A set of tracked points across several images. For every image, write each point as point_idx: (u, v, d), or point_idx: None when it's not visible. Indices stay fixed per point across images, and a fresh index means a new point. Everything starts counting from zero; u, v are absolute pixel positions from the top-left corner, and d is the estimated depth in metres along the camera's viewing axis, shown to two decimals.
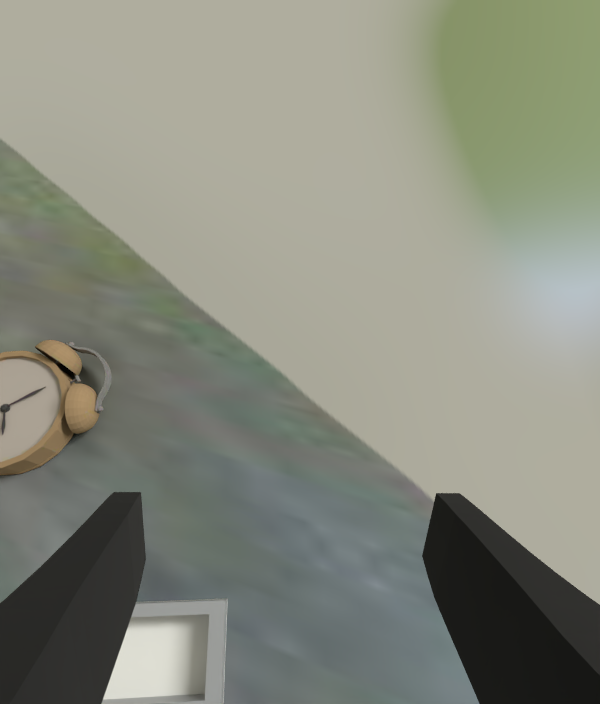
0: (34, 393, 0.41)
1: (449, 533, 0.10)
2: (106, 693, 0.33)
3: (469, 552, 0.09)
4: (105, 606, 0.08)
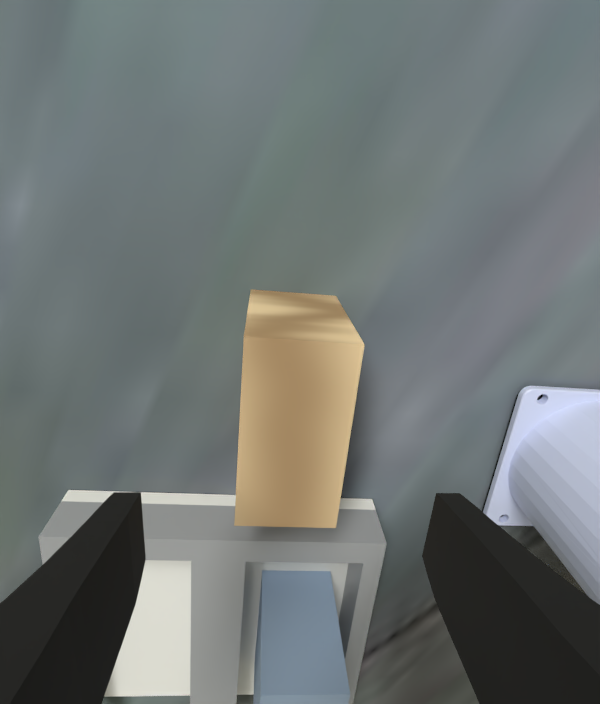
0: None
1: (449, 533, 0.10)
2: (189, 633, 0.24)
3: (469, 552, 0.09)
4: (105, 606, 0.08)
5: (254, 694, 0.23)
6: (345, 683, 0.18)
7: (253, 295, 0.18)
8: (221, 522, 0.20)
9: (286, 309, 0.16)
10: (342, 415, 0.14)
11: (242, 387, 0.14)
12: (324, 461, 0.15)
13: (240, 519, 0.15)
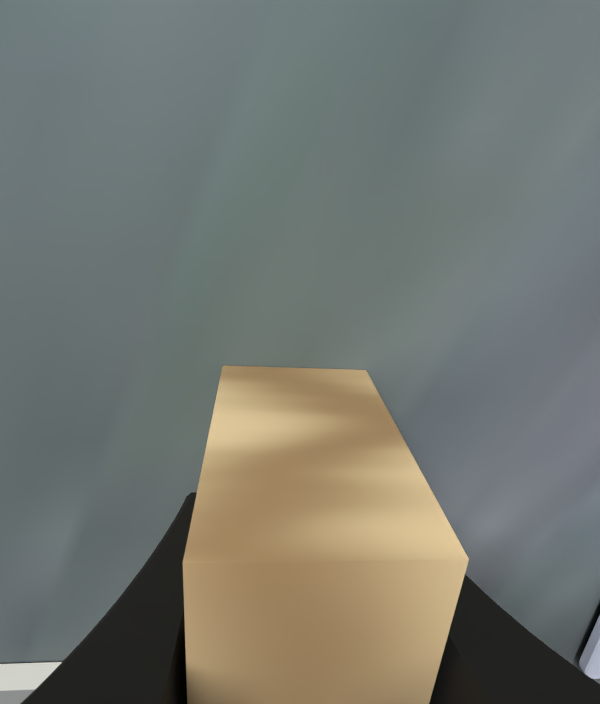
0: None
1: None
2: None
3: None
4: None
5: None
6: None
7: (225, 383, 0.10)
8: None
9: (285, 425, 0.08)
10: (411, 685, 0.07)
11: (188, 655, 0.06)
12: None
13: None
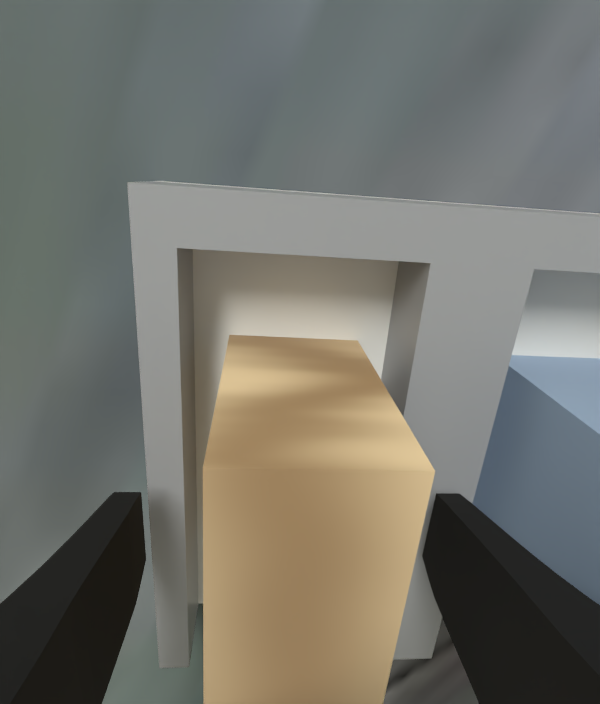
0: None
1: (449, 533, 0.10)
2: None
3: (469, 552, 0.09)
4: (104, 606, 0.08)
5: None
6: None
7: (232, 348, 0.11)
8: None
9: (285, 379, 0.10)
10: (390, 586, 0.08)
11: (205, 552, 0.07)
12: (357, 655, 0.08)
13: None
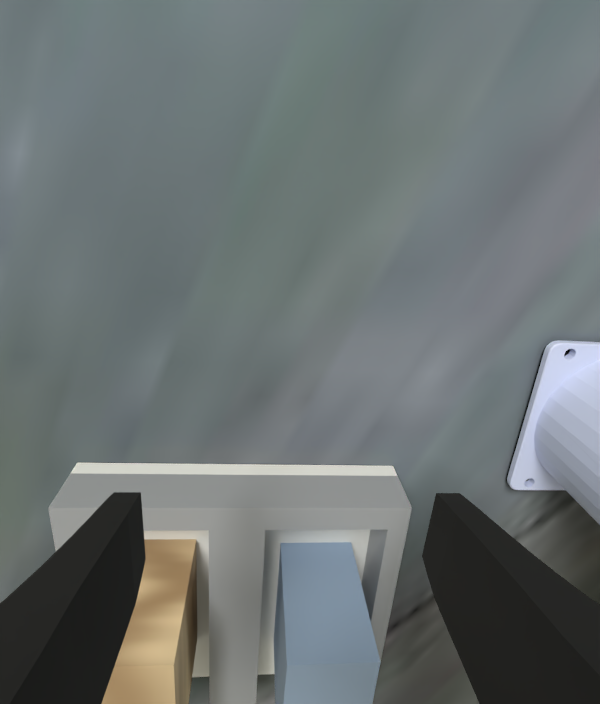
0: None
1: (449, 533, 0.10)
2: (206, 611, 0.23)
3: (469, 552, 0.09)
4: (105, 606, 0.08)
5: (275, 671, 0.22)
6: (374, 651, 0.17)
7: None
8: (238, 490, 0.19)
9: None
10: None
11: None
12: None
13: None
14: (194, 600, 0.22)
